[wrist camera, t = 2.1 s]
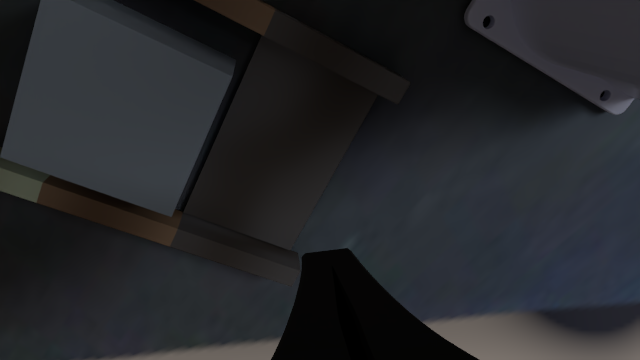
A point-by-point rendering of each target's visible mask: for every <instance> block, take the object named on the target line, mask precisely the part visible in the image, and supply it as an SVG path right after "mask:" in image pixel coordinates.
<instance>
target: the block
mask: <svg viewBox="0 0 640 360" xmlns="http://www.w3.org/2000/svg"><path fill="white" fill-rule="evenodd" d="M235 64H236V59H234V58H232V57H230V56H228V55H225V54H223V53H221V52H219V51H217V50H215V49H213V48H211V47H209V46H207V45H205V44H203V43H201V42H199V41H197V40H194V39H192V38H190V37H188V36H186V35H184V34H182V33H180V32H178V31H176V30H174V29H172V28H170V27H168V26H166V25H163V24H161V23H159V22H157V21H155V20H153V19H151V18H149V17H147V16H145V15H143V14H141V13H139V12H137V11H135V10H133V9H130V8H128V7H126V6H124V5H122V4H120V3H118V2H116V1H114V0H41V1H40V5H39V9H38V13H37V17H36V20H35V24H34V28H33V32H32V36H31V40H30V44H29V47H28V51H27V55H26V59H25V63H24V67H23V71H22V74H21V78H20V82H19V86H18V90H17V94H16V97H15V101H14V105H13V109H12V113H11V117H10V121H9V124H8V128H7V132H6V136H5V140H4V144H3V148H2V151H1V155H0V158H3V159H6V160H9V161H12V162H15V163H18V164H21V165H23V166H26V167H29V168H32V169H35V170H38V171H41V172H43V173H46V174H49V175H52V176H55V177H58V178H61V179H64V180H66V181H69V182H72V183H75V184H78V185H81V186H84V187H86V188H89V189H92V190H95V191H98V192H101V193H104V194H107V195H109V196H112V197H115V198H118V199H121V200H124V201H127V202H129V203H132V204H135V205H138V206H141V207H144V208H147V209H149V210H152V211H155V212H158V213H161V214H164V215H167V216H170V217H172V215H173V212H174V210H175V208H176V205H177V203H178V201H179V198H180V196H181V194H182V192H183V189H184V187H185V185H186V182H187V180H188V178H189V175H190V173H191V171H192V169H193V166H194V164H195V162H196V159H197V157H198V155H199V152H200V150H201V148H202V146H203V143H204V141H205V139H206V136H207V134H208V132H209V129H210V127H211V125H212V123H213V120H214V118H215V116H216V113H217V111H218V109H219V106H220V104H221V102H222V100H223V97H224V95H225V93H226V90H227V88H228V86H229V83H230V81H231V79H232V77H233V72H234V68H235Z"/></svg>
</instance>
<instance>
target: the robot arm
mask: <svg viewBox="0 0 640 360" xmlns="http://www.w3.org/2000/svg"><path fill="white" fill-rule="evenodd" d="M486 16H489V17H490V24H489V25H488V26H487V27H486V28H484V27H483V20H484V18H485V17H486ZM464 21H465V24H466V25H467V26H468V27H469V28H471V29H473V30H474V31H476V32H478V33H479V34H481V35H482V36H484V37H486V38H487V39H489V40H491V41H492V42H494V43H495V44H497V45H499V46H500V47H502V48H504V49H505V50H507V51H508V52H510V53H512V54H513V55H515V56H517V57H518V58H520V59H521V60H523V61H525V62H526V63H528V64H530V65H531V66H533V67H535V68H536V69H538V70H539V71H541V72H543V73H544V74H546V75H548V76H549V77H551V78H552V79H554V80H556V81H557V82H559V83H561V84H562V85H564V86H565V87H567V88H569V89H570V90H572V91H574V92H575V93H577V94H578V95H580V96H582V97H583V98H585V99H587V100H588V101H590V102H592V103H593V104H595V105H596V106H598V107H600V108H601V109H603V110H605V111H606V112H608V113H611V114H614V115H618V114H621V113H623V112H624V111H625V110H626V109H627V108H628V106H629V105H630V104H631V102H632V101H633V100H634V99H635V98H636V99H639V100H640V0H472V1H471V3H470V4H469V6H468V8H467V9H466V12H465V14H464ZM603 91H605V93H604V95H603V97H601V98H600V95H601V93H602V92H603ZM271 360H479V359H477V358H475V357H474V356H472V355H470V354H468V353H467V352H465V351H463V350H462V349H460V348H458V347H457V346H455V345H454V344H452V343H451V342H449V341H447V340H446V339H444V338H443V337H441V336H440V335H438V334H437V333H436V332H434V331H433V330H431V329H430V328H429V327H427V326H426V325H425V324H423V323H422V322H421V321H420V320H418V319H417V318H416V317H415V316H414V315H412V314H411V313H410V312H409V311H408V310H406V309H405V308H404V307H403V306H402V305H401V304H400V303H399V302H397V301H396V300H395V299H394V298H393V297H392V296H391V295H390V294H389V293H388V292H387V291H386V290H385V289H384V288H383V287H382V286H381V285H380V284H379V283H378V282H377V281H376V280H375V279H374V278H373V277H372V275H371V274H370V273H369V272H368V271H367V270H366V269H365V268H364V266H363V265H362V264H361V263H360V262H359V260H358V259H357V258H356V257H355V255H354V254H353V253H352V251H350V250H349V249H348V248H345V249H337V250H329V251H321V252H313V253H305V254H304V255H303V256H302V272H301V278H300V283H299V287H298V291H297V295H296V299H295V303H294V306H293V309H292V312H291V314H290V317H289V320H288V323H287V326H286V328H285V331H284V333H283V335H282V338H281V340H280V342H279V344H278V347H277V349H276V351H275V353H274V355H273V357H272V359H271Z"/></svg>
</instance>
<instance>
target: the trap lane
mask: <svg viewBox="0 0 640 360" xmlns="http://www.w3.org/2000/svg"><path fill="white" fill-rule="evenodd" d="M194 1H196V2H198V3H200V4H202V5H204V6H206V7H208V8H210V9H212V10H214V11H216V12H218V13H220V14H222V15H224V16H226V17H228V18H230V19H232V20H234V21H235V22H237V23H239V24H241V25H243V26H245V27H247V28H249V29H251V30H253V31H255V32H257V33H259V34H261V38H260V40H259V42H258V44H257V47H256V49H255V51H254V53H253V56H252V58H251V60H250V62H249V65H248V67H247V69H246V71H245V74H244V76H243V78H242V80H241V83H240V85H239V87H238V90H237V92H236V94H235V96H234V99H233V101H232V103H231V105H230V108H229V110H228V112H227V114H226V117H225V119H224V121H223V123H222V126H221V128H220V130H219V132H218V135H217V137H216V139H215V141H214V144H213V146H212V148H211V150H210V153H209V155H208V157H207V159H206V162H205V164H204V166H203V168H202V171H201V173H200V175H199V177H198V180H197V182H196V184H195V186H194V189H193V191H192V193H191V195H190V198H189V200H188V202H187V204H186V207H185V209H184V212H182V211H179V210H176V209H175V210H174V212H173V215H172V217H170V216H167V215H164V214H161V213H158V212H155V211H152V210H149V209H147V208H144V207H141V206H138V205H135V204H132V203H129V202H127V201H124V200H121V199H118V198H115V197H112V196H109V195H107V194H104V193H101V192H98V191H95V190H92V189H89V188H86V187H84V186H81V185H78V184H75V183H72V182H69V181H66V180H64V179H61V178H58V177H55V176H52V175H49V174H46V173H43V172H41V171H38V170H35V169H32V168H29V167H26V166H23V165H21V164H18V163H15V162H12V161H9V160H6V159H3V158H0V191H2V192H5V193H8V194H11V195H14V196H17V197H20V198H23V199H26V200H29V201H32V202H35V203H38V204H42V205H45V206H48V207H51V208H54V209H57V210H60V211H63V212H66V213H69V214H72V215H75V216H78V217H81V218H84V219H87V220H90V221H93V222H96V223H99V224H102V225H105V226H108V227H111V228H114V229H118V230H121V231H124V232H127V233H130V234H133V235H136V236H139V237H142V238H145V239H148V240H151V241H154V242H157V243H160V244H163V245H166V246H169V247H172V248H175V249H178V250H181V251H184V252H187V253H190V254H194V255H197V256H200V257H203V258H206V259H209V260H212V261H215V262H218V263H221V264H224V265H227V266H230V267H233V268H236V269H239V270H242V271H245V272H248V273H251V274H254V275H257V276H260V277H263V278H266V279H270V280H273V281H276V282H279V283H282V284H285V285H288V286H292V285H293V283H294V281H295V280H296V278H297V276H298V275H299V273H300V264H299V257H298V253H296V252H294V251H291V248H292V247H293V245H294V243H295V241H296V239H297V238H298V236H299V234H300V232H301V231H302V229H303V227H304V225H305V224H306V222H307V220H308V218H309V216H310V215H311V213H312V211H313V209H314V208H315V206H316V204H317V202H318V200H319V199H320V197H321V195H322V193H323V192H324V190H325V188H326V186H327V185H328V183H329V181H330V179H331V177H332V176H333V174H334V172H335V170H336V169H337V167H338V165H339V163H340V162H341V160H342V158H343V156H344V154H345V153H346V151H347V149H348V147H349V146H350V144H351V142H352V140H353V138H354V137H355V135H356V133H357V131H358V130H359V128H360V126H361V124H362V123H363V121H364V119H365V117H366V115H367V114H368V112H369V110H370V108H371V107H372V105H373V103H374V101H375V100H376V98H377V96H378V95H380V96H382V97H384V98H386V99H388V100H390V101H392V102H394V103H396V104H399V102H400V101H401V99H402V97H403V95H404V94H405V92H406V90H407V89H408V87H409V85H410V82H409V81H408V80H406V79H405V78H403V77H402V76H400V75H399V74H397V73H395V72H393V71H391V70H389V69H388V68H386V67H384V66H382V65H380V64H378V63H376V62H375V61H373V60H371V59H369V58H367V57H365V56H363V55H362V54H360V53H358V52H356V51H354V50H352V49H350V48H349V47H347V46H345V45H343V44H341V43H339V42H337V41H336V40H334V39H332V38H330V37H328V36H326V35H324V34H323V33H321V32H319V31H317V30H315V29H313V28H311V27H310V26H308V25H306V24H304V23H302V22H300V21H298V20H297V19H295V18H293V17H291V16H289V15H287V14H285V13H284V12H282V11H280V10H278V9H276V8H274V7H272V6H270V5H269V4H267V3H265V2H263V1H261V0H194ZM1 151H2V147H0V155H1Z"/></svg>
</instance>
